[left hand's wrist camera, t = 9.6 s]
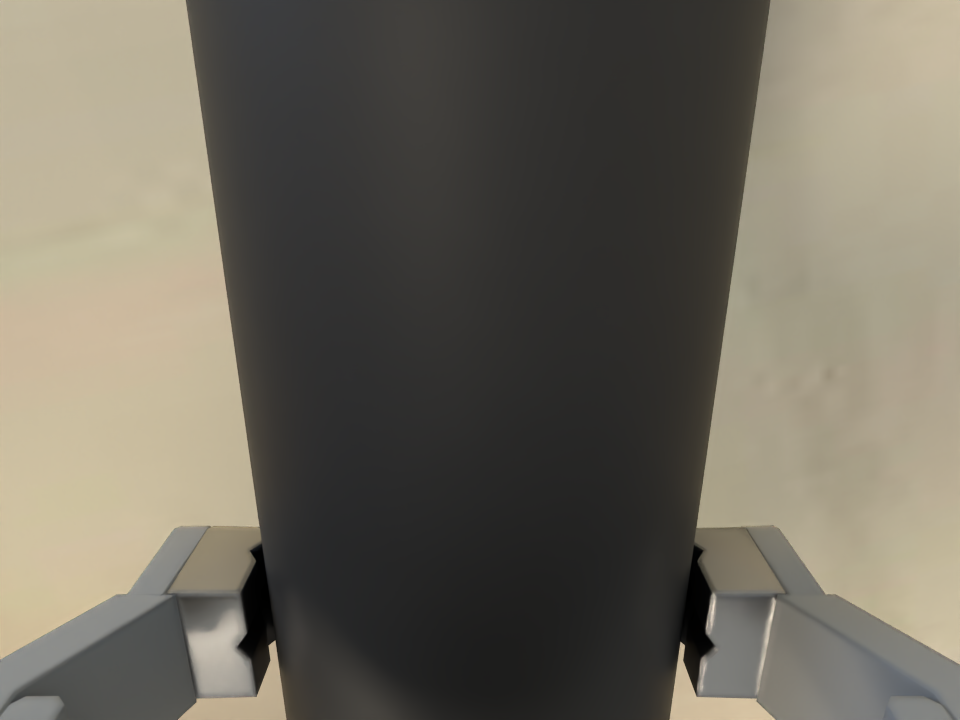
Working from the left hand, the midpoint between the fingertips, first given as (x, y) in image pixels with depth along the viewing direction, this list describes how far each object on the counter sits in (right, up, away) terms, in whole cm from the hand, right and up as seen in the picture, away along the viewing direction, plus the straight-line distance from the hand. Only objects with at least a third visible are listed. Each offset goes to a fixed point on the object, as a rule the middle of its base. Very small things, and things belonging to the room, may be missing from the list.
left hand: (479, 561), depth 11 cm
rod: (0, +9, 0) cm, 9 cm away
